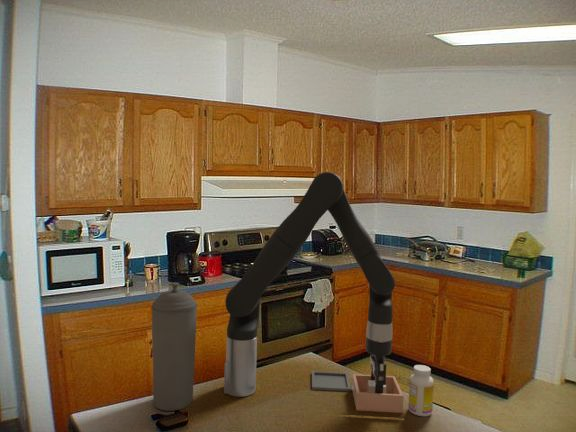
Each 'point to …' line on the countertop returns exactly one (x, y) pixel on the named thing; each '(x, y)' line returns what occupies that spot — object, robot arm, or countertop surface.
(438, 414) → the countertop surface
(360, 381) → the bin
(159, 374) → the canister
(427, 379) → the supplement bottle
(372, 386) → the cream rectangular block
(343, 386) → the tray
